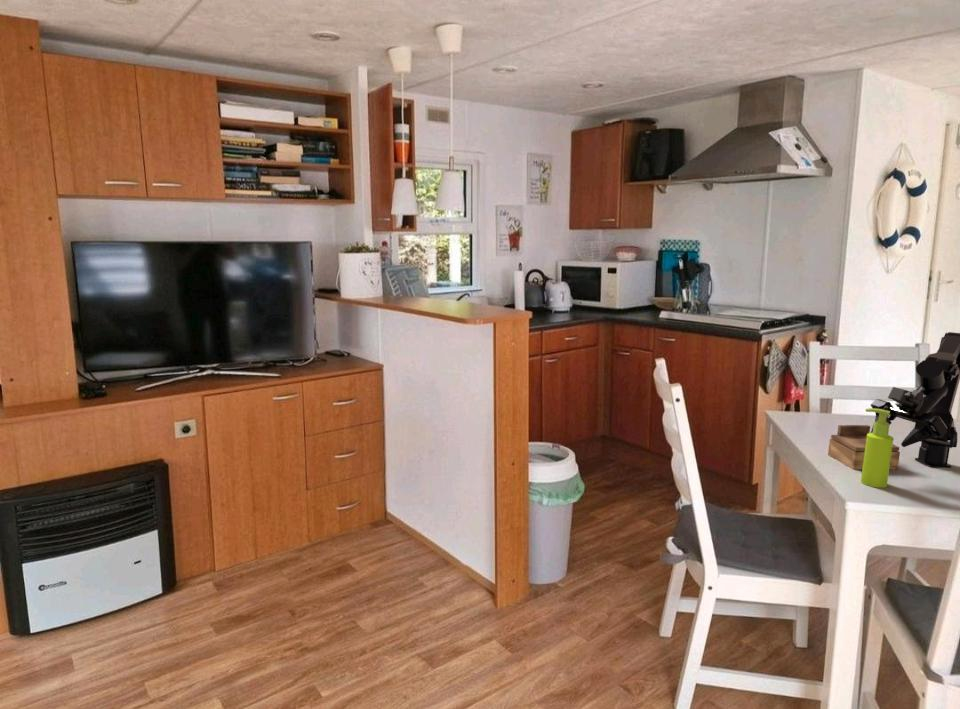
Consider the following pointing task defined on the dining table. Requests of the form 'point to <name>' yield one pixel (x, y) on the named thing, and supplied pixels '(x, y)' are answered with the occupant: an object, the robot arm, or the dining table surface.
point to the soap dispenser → (877, 452)
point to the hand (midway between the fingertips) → (886, 440)
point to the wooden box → (855, 455)
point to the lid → (854, 436)
